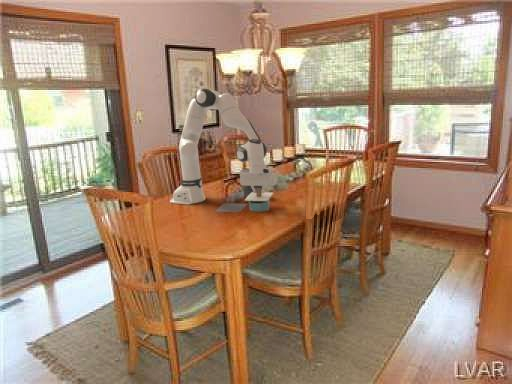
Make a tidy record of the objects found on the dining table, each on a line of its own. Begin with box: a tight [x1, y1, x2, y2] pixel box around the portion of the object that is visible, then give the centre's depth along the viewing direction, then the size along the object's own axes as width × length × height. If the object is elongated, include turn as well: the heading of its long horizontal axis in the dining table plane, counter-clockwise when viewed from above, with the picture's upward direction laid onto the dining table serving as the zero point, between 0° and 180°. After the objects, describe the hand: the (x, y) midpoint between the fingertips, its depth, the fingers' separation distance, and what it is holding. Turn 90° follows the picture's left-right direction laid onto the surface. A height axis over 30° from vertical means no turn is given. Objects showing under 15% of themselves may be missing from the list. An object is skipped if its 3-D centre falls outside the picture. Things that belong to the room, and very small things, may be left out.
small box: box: [243, 186, 263, 200], centre depth 243 cm, size 11×6×10 cm, turn 84°
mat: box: [214, 203, 248, 213], centre depth 229 cm, size 15×15×1 cm
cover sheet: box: [244, 188, 274, 202], centre depth 222 cm, size 13×13×5 cm
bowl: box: [248, 198, 271, 213], centre depth 224 cm, size 11×11×5 cm
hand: (258, 193), depth 222 cm, fingers closed on cover sheet, 3 cm apart
